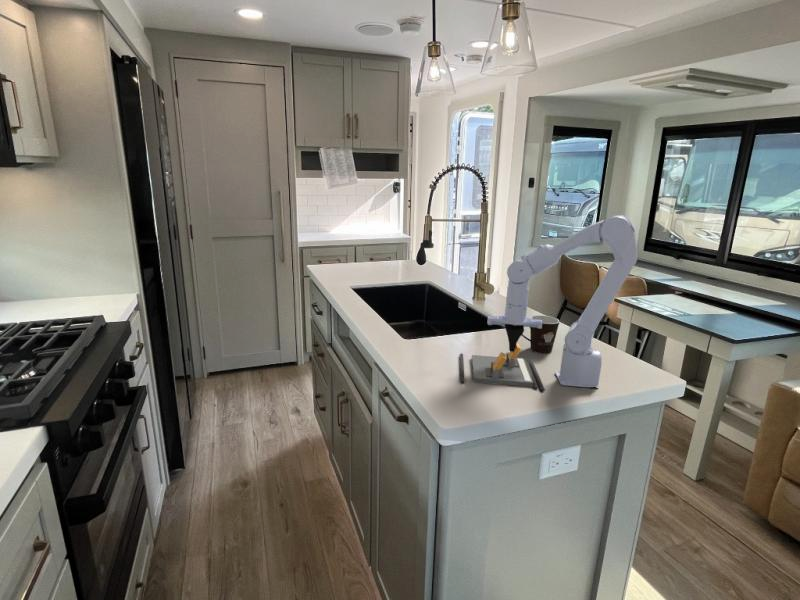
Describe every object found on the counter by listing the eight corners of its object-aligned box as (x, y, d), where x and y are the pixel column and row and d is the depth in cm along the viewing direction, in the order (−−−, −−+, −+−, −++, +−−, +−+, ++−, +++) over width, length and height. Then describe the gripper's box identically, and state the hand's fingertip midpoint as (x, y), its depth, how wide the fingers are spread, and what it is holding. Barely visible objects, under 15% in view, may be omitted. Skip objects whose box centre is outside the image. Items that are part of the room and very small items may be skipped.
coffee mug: (554, 347, 147) (558, 317, 144) (556, 356, 139) (560, 325, 136) (517, 342, 150) (520, 313, 147) (516, 351, 142) (520, 320, 139)
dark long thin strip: (527, 363, 133) (527, 360, 132) (537, 389, 116) (538, 386, 116) (524, 363, 133) (524, 360, 133) (533, 389, 116) (534, 385, 116)
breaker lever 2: (510, 358, 131) (519, 344, 130) (512, 364, 127) (521, 349, 126) (506, 356, 131) (515, 342, 130) (508, 362, 127) (517, 347, 126)
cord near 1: (532, 362, 134) (532, 359, 133) (544, 392, 115) (545, 388, 115) (528, 362, 134) (529, 359, 133) (540, 391, 115) (541, 388, 115)
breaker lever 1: (495, 368, 124) (505, 353, 123) (496, 374, 120) (506, 359, 119) (491, 366, 124) (501, 351, 123) (492, 372, 120) (502, 357, 119)
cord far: (463, 356, 136) (463, 353, 136) (464, 383, 118) (464, 380, 118) (459, 355, 137) (459, 352, 136) (460, 383, 118) (460, 380, 118)
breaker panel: (523, 362, 133) (525, 352, 132) (532, 386, 118) (534, 375, 117) (471, 358, 135) (472, 348, 134) (474, 382, 119) (475, 370, 119)
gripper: (541, 301, 128) (535, 347, 132) (488, 298, 130) (484, 343, 133) (546, 308, 121) (539, 356, 125) (490, 304, 123) (486, 352, 126)
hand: (511, 350), depth 129 cm, fingers closed
